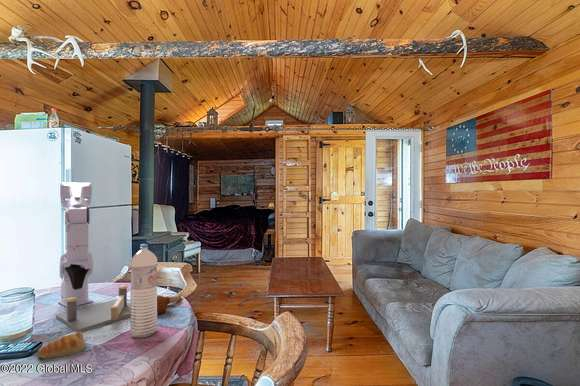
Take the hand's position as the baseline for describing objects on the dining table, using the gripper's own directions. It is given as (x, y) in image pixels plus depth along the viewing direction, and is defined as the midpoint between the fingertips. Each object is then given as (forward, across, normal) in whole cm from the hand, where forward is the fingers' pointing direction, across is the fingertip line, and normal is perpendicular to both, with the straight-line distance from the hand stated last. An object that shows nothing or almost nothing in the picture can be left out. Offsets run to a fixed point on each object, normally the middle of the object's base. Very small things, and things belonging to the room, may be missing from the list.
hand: (77, 288), depth 100 cm
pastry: (+10, +20, -12) cm, 25 cm away
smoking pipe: (+10, +14, +21) cm, 27 cm away
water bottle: (+9, +28, +4) cm, 29 cm away
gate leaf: (+8, +10, +7) cm, 15 cm away
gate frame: (+9, +4, +5) cm, 11 cm away
